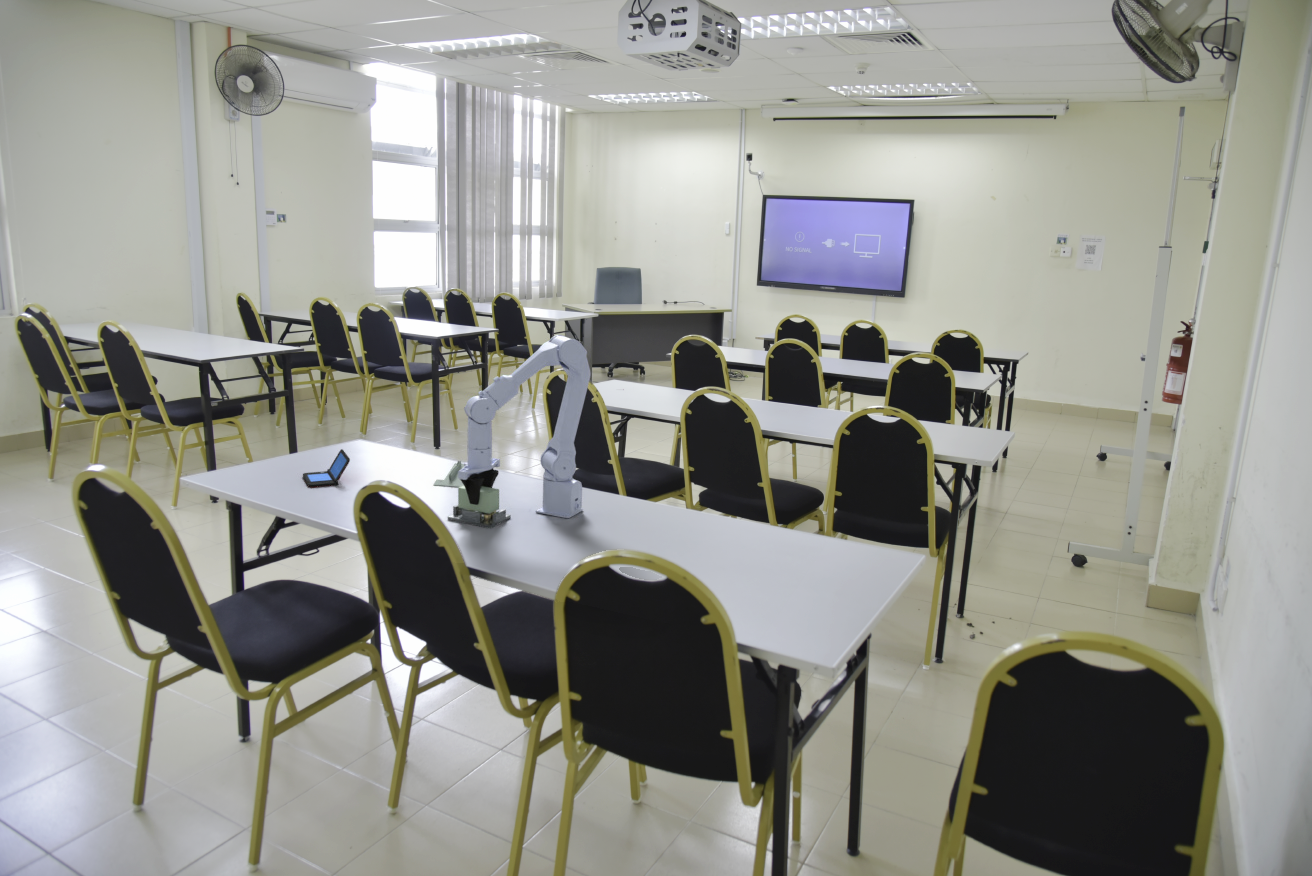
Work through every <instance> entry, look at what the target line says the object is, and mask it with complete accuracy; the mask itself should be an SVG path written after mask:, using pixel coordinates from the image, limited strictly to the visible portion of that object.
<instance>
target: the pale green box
mask: <svg viewBox="0 0 1312 876" xmlns="http://www.w3.org/2000/svg"><path fill="white" fill-rule="evenodd" d="M457 490H458V491H457V493H458V495H457V497H458V499H457V500H458V503H457V504H458V507H459V508H464V509H469V510H474V511H479V512H484V513H489V514H490V513H492V512H494V511H496V512H497V511H499V510H500V489H499V488H495V487H492V488H489V487H484V486H481V490H480V498H479V503H478V505H474V504H470V502H469V498H468V495H467V491H466V489H465V486H461V487H458V488H457Z"/></svg>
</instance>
